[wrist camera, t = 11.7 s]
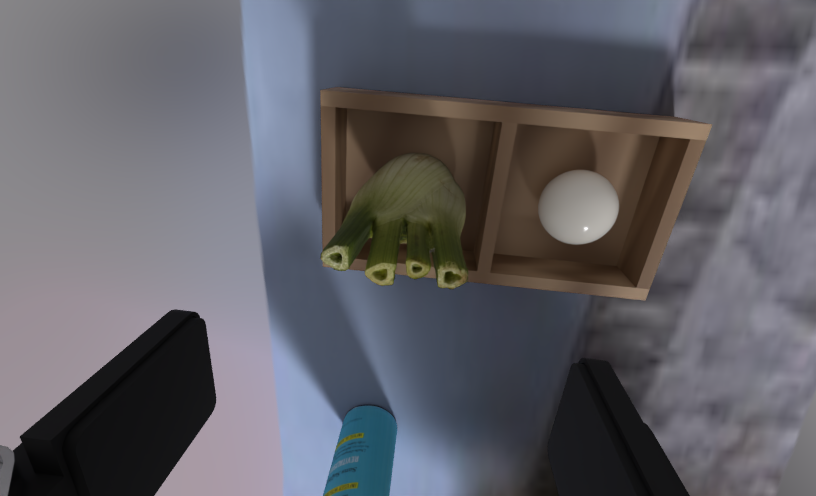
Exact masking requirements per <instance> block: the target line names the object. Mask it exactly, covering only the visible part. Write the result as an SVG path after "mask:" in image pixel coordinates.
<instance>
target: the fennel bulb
mask: <svg viewBox="0 0 816 496" xmlns="http://www.w3.org/2000/svg"><path fill="white" fill-rule="evenodd" d="M465 217H466V205H465V198H464V193H463V191H462V190H461V188H460V186H459V185H458V184H457V182H456V181H455V179H454V178H453V176H452V174H451V172H450V171H449V169H448V167H447V166H446V165H445V164H444V163H443V162H442V161H440V160H439V159H437V158H435V157H433V156H431V155H428V154H425V153H407V154H402V155H399V156H397V157H395V158H393V159H392V160H390V161H389V162H388V163H386V164H385V165H384V166H383V167H381V168H380V169H379V170H378V171H377V172H376V173H375V174H374V175H373V176H372V177H371V178H370V179H369V180H368V181H367V182H366V183H365V184H364V185H363V186H362V187H361V189H360V190H359V191H358V192H357V194H356V195H355V197H354V199H353V201H352V203H351V206H350V210H349V211H348V214H347V215H346V217H345V219H344V221H343V223H342V225H341V227H340V229H339V230H338V231H337V233H336V234H335V236H334V237H333V238H332V239H331V241H330V242H329V243H328V244H327V245H326V247H325V248H324V249H323V251H322V253H321V260H322V261H323V262H324V263H325V264H326V265H329V266H330V267H332V268H333V269H334V270H338V271H346V270H348V269H349V268H350V266H351V264H352V263H353V261H354V260H355V259H356V257H357V256H358V254H359V252H360V251H361V249H362V247H363V246H364V244H365V243H366V242H367V240H368V239H369V238H372V241H371V247H370V252H369V256H368V260H367V263H366V268H365V275H366V277H368V278H369V279H370V280H371V281H372V282H374V283H376V284H378V285H381V286H385V285H392V284H393V283H394V278H395V270H396V267H397V259H398V253H399V247H400V244H401V243H407V256H406V272H407V275H408V276H409V277H410V278H413V279H417V278H422V277H424V276H426V275H427V274H428V272H429V271H430V269H431V259H430V253H432V257H433V264H434V268H435V273H436V279H437V285H438V287H439V288H449V289H454V288H456V287H459V286H461V285H462V284H464V283H466V282H467V281H468V275H469V273H468V268H467V267H466V263H465V261H464V256H463V253H462V248H461V241H460V235H461V232H462V229H463V226H464V223H465Z"/></svg>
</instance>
